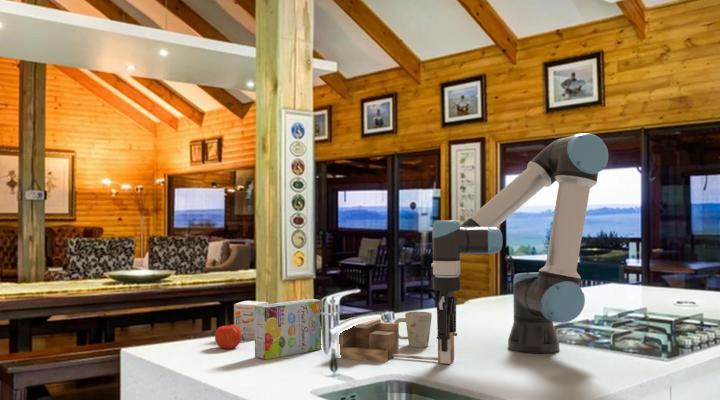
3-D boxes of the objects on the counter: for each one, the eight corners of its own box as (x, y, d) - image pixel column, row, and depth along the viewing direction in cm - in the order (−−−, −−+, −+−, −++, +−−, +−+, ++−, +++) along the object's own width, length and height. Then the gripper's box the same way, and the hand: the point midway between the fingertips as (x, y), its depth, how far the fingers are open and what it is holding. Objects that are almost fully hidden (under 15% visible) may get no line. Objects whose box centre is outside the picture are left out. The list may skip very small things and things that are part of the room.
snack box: (310, 347, 199) (310, 298, 199) (322, 349, 195) (322, 299, 195) (253, 357, 184) (253, 304, 184) (265, 360, 180) (265, 306, 180)
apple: (246, 347, 198) (247, 321, 198) (224, 351, 192) (225, 324, 192) (231, 344, 203) (231, 318, 203) (209, 348, 197) (209, 321, 197)
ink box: (232, 338, 213) (233, 303, 213) (246, 334, 221) (246, 300, 221) (255, 340, 210) (255, 304, 210) (268, 336, 217) (268, 301, 218)
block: (454, 360, 179) (454, 331, 179) (449, 365, 174) (449, 335, 174) (376, 354, 188) (376, 326, 188) (369, 358, 182) (369, 330, 183)
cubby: (398, 354, 188) (398, 320, 188) (386, 362, 178) (386, 325, 178) (352, 350, 193) (352, 317, 194) (338, 357, 183) (338, 322, 183)
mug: (430, 348, 196) (430, 315, 196) (389, 347, 199) (389, 314, 199) (433, 343, 204) (433, 311, 205) (393, 342, 207) (393, 310, 207)
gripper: (441, 273, 187) (441, 354, 186) (424, 278, 171) (425, 366, 171) (466, 273, 184) (467, 356, 183) (452, 279, 169) (453, 369, 168)
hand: (447, 361), depth 177 cm, fingers closed on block, 3 cm apart
